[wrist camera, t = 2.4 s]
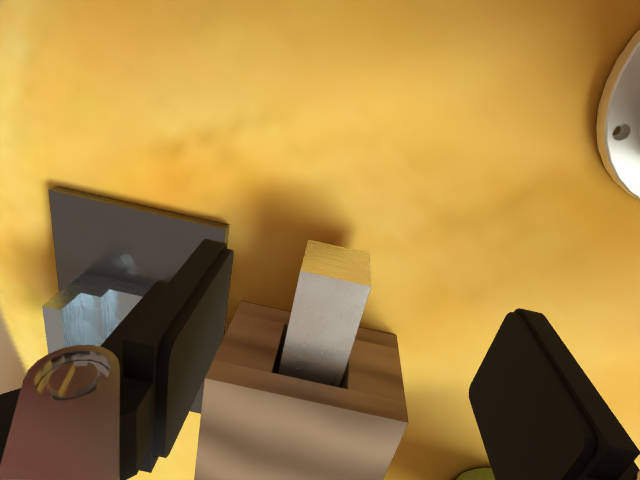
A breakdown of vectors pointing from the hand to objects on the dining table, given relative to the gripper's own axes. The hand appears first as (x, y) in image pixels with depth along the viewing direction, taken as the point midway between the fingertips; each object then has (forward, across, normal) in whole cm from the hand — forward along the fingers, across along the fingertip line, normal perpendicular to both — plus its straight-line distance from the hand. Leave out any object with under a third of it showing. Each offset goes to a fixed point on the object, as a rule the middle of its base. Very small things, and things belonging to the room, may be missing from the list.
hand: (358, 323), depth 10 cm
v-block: (+16, +14, +15) cm, 26 cm away
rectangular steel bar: (+14, 0, +14) cm, 20 cm away
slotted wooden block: (+16, 0, +17) cm, 23 cm away
